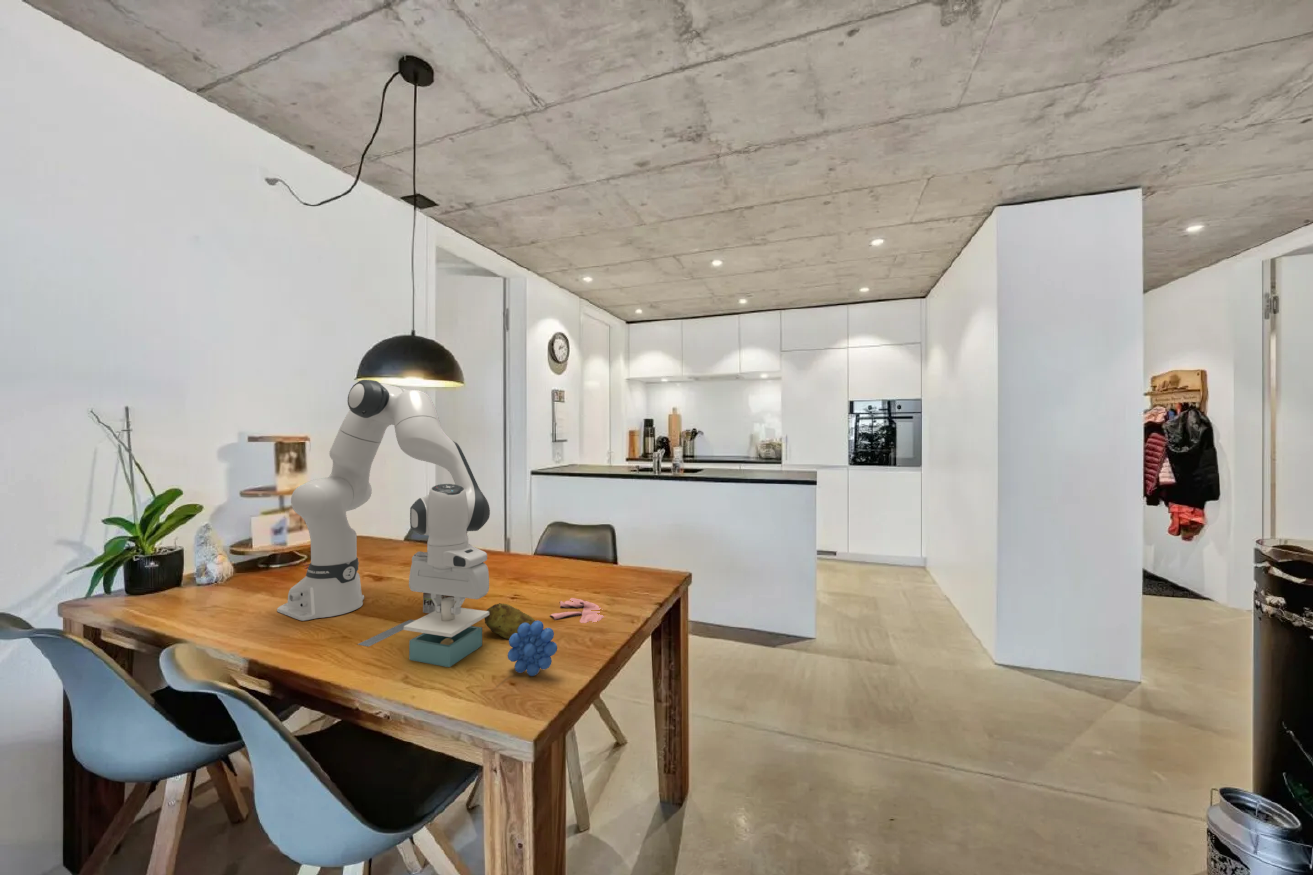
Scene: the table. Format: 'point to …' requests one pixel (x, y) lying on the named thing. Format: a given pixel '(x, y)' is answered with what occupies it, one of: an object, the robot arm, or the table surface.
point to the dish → (445, 647)
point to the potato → (506, 619)
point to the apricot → (447, 641)
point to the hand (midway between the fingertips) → (448, 612)
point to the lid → (446, 620)
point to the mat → (385, 634)
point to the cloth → (586, 614)
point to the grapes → (532, 648)
